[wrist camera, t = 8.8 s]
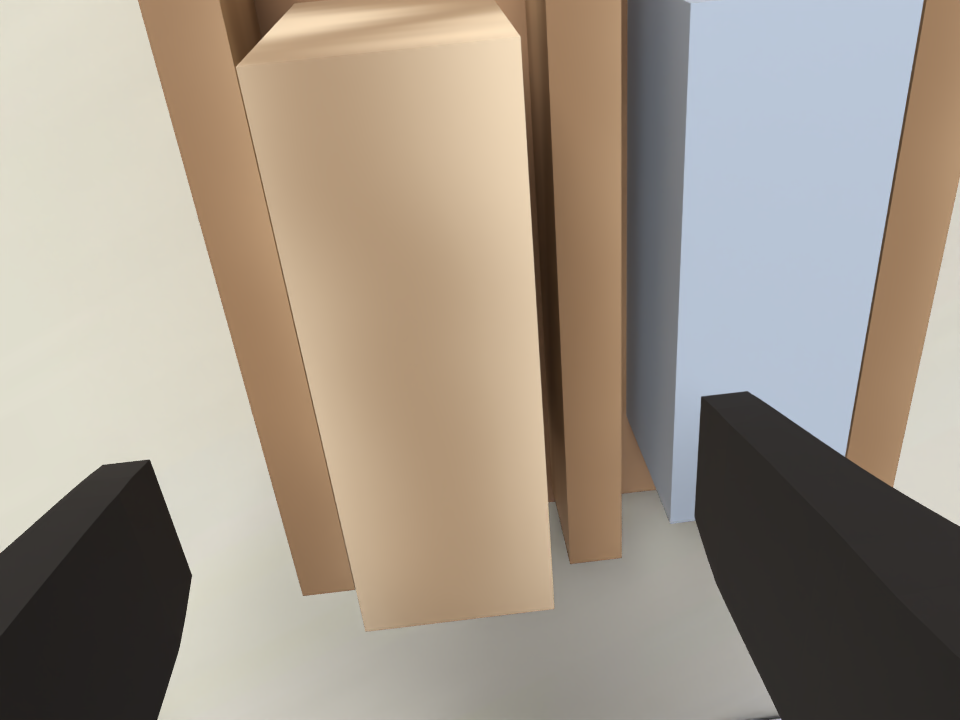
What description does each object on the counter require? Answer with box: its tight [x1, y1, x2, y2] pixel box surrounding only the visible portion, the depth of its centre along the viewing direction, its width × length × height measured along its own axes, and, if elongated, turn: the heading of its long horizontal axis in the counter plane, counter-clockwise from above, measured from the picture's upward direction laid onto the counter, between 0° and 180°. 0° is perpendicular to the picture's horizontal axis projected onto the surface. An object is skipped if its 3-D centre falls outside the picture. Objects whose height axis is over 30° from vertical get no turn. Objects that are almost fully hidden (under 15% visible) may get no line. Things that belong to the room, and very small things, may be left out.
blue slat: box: [626, 0, 924, 524], centre depth 16 cm, size 4×10×4 cm, turn 5°
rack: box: [138, 0, 960, 596], centre depth 17 cm, size 14×15×4 cm
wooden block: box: [236, 0, 554, 632], centre depth 15 cm, size 4×10×6 cm, turn 5°
